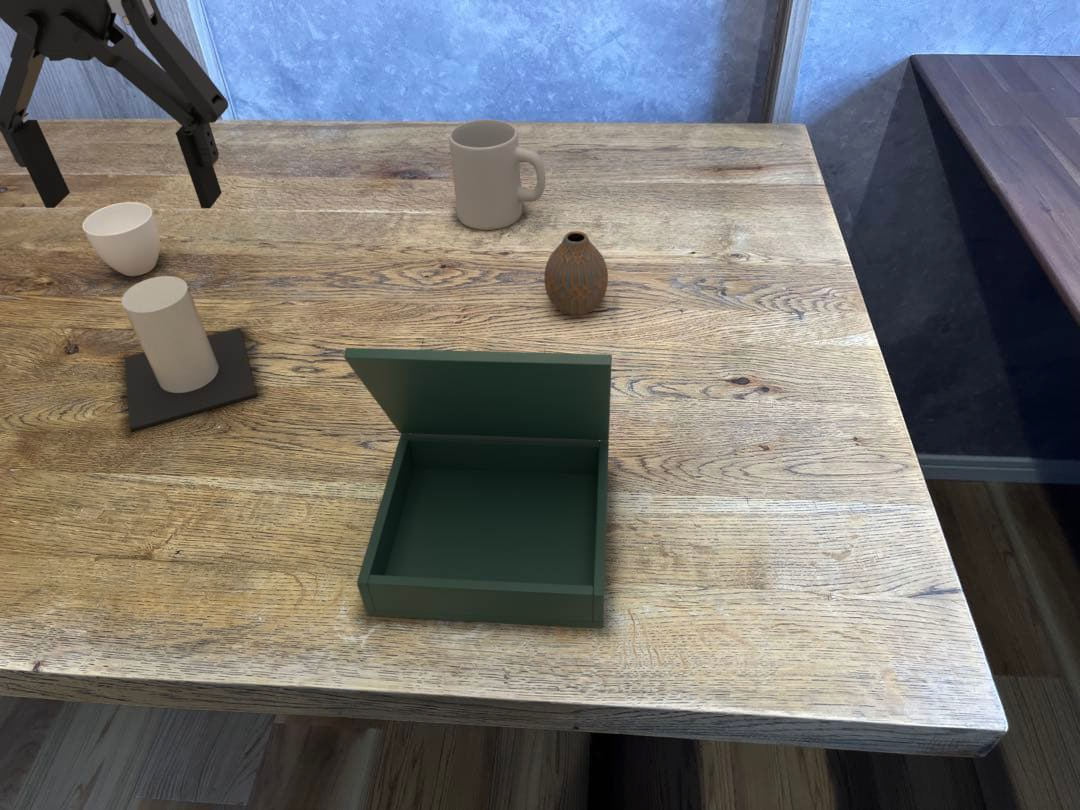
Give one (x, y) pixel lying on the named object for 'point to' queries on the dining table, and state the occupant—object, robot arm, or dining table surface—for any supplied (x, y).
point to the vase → (576, 275)
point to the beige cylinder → (171, 333)
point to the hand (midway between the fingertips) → (134, 200)
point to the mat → (162, 406)
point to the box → (491, 531)
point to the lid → (489, 392)
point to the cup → (125, 237)
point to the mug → (491, 174)
